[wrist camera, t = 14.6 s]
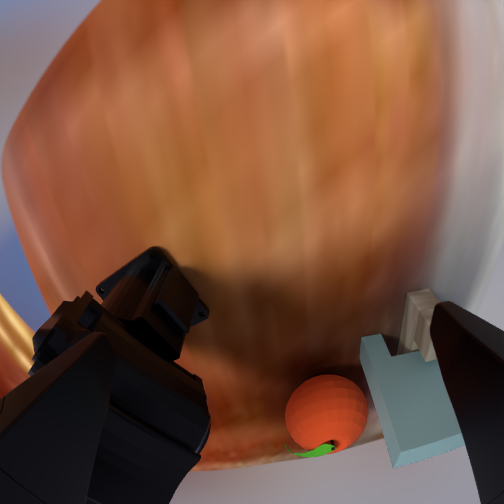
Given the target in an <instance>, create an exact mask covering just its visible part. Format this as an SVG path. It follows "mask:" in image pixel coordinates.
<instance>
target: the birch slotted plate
mask: <svg viewBox="0 0 504 504" xmlns="http://www.w3.org/2000/svg"><path fill="white" fill-rule="evenodd" d="M437 303H440V302H439V301H438V300H437V298H436V297H435V296H434V295H433V293H432V292H431V291H430V289H424V290H418V291H412V292H407V295H406V302H405V309H404V316H403V322H402V328H401V334H400V339H399V345H398V350H397V355H402V354H407V353H411V352H416V351H420V352H421V354H422V356H423V358H424V360H425V362H428V361H431V360H435V359H437V357H436V354H435V350H434V347H433V343H432V340H431V337H430V324H431V319H432V315H433V310H434V307H435V305H436V304H437ZM397 355H396V356H397Z"/></svg>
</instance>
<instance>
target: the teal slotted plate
mask: <svg viewBox="0 0 504 504" xmlns="http://www.w3.org/2000/svg"><path fill="white" fill-rule="evenodd" d="M359 359H360V362H361V365H362V368H363V371H364V374H365V377H366V380H367V383H368V386H369V389H370V392H371V395H372V398H373V402H374V405H375V408H376V411H377V415H378V418H379V421H380V425H381V428H382V431H383V435H384V438H385V442H386V445H387V449H388V452H389V455H390V459H391V463H392V467H393V468H396V467H400V466H404V465H407V464H411V463H414V462H418V461H421V460H424V459H427V458H430V457H434V456H437V455H439V454H442V453H445V452H448V451H451V450H454V449H456V448H459V447H462V446H464V445H465V443H464V439H463V436H462V433H461V430H460V427H459V424H458V421H457V418H456V415H455V412H454V409H453V407H452V404H451V401H450V398H449V396H448V393H447V390H446V388H445V385H444V382H443V379H442V375H441V372H440V368H439V364H438V361H437V359H435V360H431V361H428V362H425V360H424V358H423V356H422V354H421V352H420V351H416V352H411V353H407V354H402V355H397V356H392V357H391V355H390V353H389V351H388V348H387V346H386V344H385V342H384V340H383V337H382V335H381V334H376V335H371V336H365V337H361V346H360V356H359Z"/></svg>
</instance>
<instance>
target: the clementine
mask: <svg viewBox="0 0 504 504" xmlns="http://www.w3.org/2000/svg"><path fill="white" fill-rule="evenodd" d="M367 418H368V407H367V401H366V398H365V396H364V394H363V392H362V391H361V390H360V388H359V387H358V386H357V385H356V384H355V383H354V382H352V381H351V380H349V379H347V378H344V377H341V376H338V375H330V374H327V375H320V376H316V377H313V378H311V379H309V380H306V381H305V382H304V383H302V384H301V385H300V386H299V387H298V388H297V389H296V390H295V391H294V392H293V393H292V395H291V397H290V399H289V401H288V404H287V406H286V412H285V422H286V426H287V430H288V432H289V433H290V435H291V437H292V438H293V440H294V441H295V442H296V443H297V444H299V445H300V446H301V447H303V448H304V449H306V450H308V452H305V453H293V452H291V451H290V450H289V449H288V447H287V446H286V445H285V446H286V448H287V450H288V451H290V452H291V453H293V454H295V455H298V456H302V457H317V456H322V455H325V454H331V453H336V452H339V451H341V450H343V449H345V448H347V447H348V446H350V445H351V444H352V443H353V442H355V441H356V440H357V439H358V438H359V436H360V435H361V433H362V432H363V430H364V428H365V426H366V422H367Z"/></svg>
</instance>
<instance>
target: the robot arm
mask: <svg viewBox="0 0 504 504" xmlns="http://www.w3.org/2000/svg"><path fill="white" fill-rule="evenodd" d="M151 252H153V253H155V254H156V257H154V256H152V255H151ZM101 288H102V289H103V290H104V291H102V290H101ZM96 292H97V294H98V295H99V296H100V297H101V298H102V300H103V303H102V304H101V305H100V304H99V303H98V302H97V301H96V300H94V299H93V297H94V296H93V295H91V294H90V293H89V292H88V291H87V290H86V292H85V293H84V294H83V296H82V297H81V298H80V297H79V296H77V297H76V298H75V300H74V301H73V302H70V301H63V302H62V304H61V305H60V306H59V307H58V309H57V310H56V311H55V312H54V314H53V315H52V316H51V317H50V318H49V319H48V320H47V321H46V322H45V323H44V324H43V325H42V326H41V327H40V328H39V329H38V331H37V332H36V333H35V335H34V336H33V338H32V340H33V346H34V352H35V354H34V356H33V358H32V360H33V361H34V362H35V363H34V364H33V366H32V367H31V369H30V371H29V372H28V374H29V375H30V376H31V377H29V378H28V379H26V380H25V381H24V382H22V383H21V384H20V385H18V386H17V387H16V388H14V389H13V390H11V391H10V392H9V393H7V394H6V396H3V397H2V398H1V399H0V504H169V503H170V501H171V499H172V497H173V494H174V493H175V491H176V489H177V487H178V486H179V484H180V483H181V481H182V480H183V478H184V477H185V476H186V474H187V473H188V472H189V471H190V470H191V469H192V468H193V467H194V466H195V465H196V464H197V463H198V462H199V461H200V459H201V455H200V452H201V451H202V449H203V448H204V446H205V444H206V442H207V440H208V436H209V433H210V427H211V418H210V414H209V411H208V407H207V402H206V397H207V396H206V394H205V391H204V387H203V383H202V379H201V378H200V377H198V376H197V375H195V374H193V375H192V374H191V373H190V372H188V371H187V370H185V369H184V368H182V367H181V366H179V365H178V364H177V363H175V362H174V360H177V359H179V358H180V354H181V350H182V347H183V343H184V339H185V336H186V334H188V333H189V330H190V327H191V326H193V325H195V324H197V323H199V322H201V321H203V320H205V319H207V318H208V316H209V309H208V308H207V307H206V305H205V304H204V303H203V302H202V301H201V299H200V298H199V297H198V296H199V294H198V293H197V292H196V290H195V289H194V288H193V287H192V286H191V284H190V283H189V282H188V281H187V280H186V278H185V277H184V276H183V275H182V273H181V272H180V271H179V270H178V269H177V268H174V267H173V265H172V264H171V263H170V262H169V260H168V259H167V258H166V257H165V255H164V254H163V253H162V252H161V250H160V249H159V248H157V247H150V248H148V249H147V250H146V251H144V252H143V253H141V254H140V255H138V256H137V257H135V258H134V259H133V260H131V261H130V262H128V263H127V264H125V265H124V266H123V267H121V268H120V269H118V270H117V271H116V272H114V273H113V274H111V275H110V276H109V277H107V278H106V279H104V280H103V281H102V282H100V283H99V284H98V286H97V287H96ZM201 311H202V312H204V313H205V314H201V313H200V312H201ZM430 337H431V340H432V343H433V347H434V350H435V354H436V357H437V361H438V364H439V368H440V372H441V375H442V379H443V382H444V385H445V388H446V390H447V393H448V396H449V398H450V401H451V404H452V407H453V409H454V412H455V415H456V418H457V421H458V424H459V427H460V430H461V433H462V436H463V439H464V443H465V446H466V449H467V452H468V456H469V459H470V463H471V466H472V470H473V474H474V477H475V481H476V485H477V489H478V493H479V498H480V502H481V504H504V331H503V330H501V329H499V328H497V327H496V326H494V325H492V324H490V323H488V322H486V321H485V320H483V319H481V318H480V317H478V316H476V315H474V314H473V313H471V312H469V311H467V310H465V309H463V308H462V307H460V306H458V305H456V304H454V303H453V302H451V301H445V302H440V303H437V304H436V305H435V307H434V310H433V315H432V319H431V324H430Z"/></svg>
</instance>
